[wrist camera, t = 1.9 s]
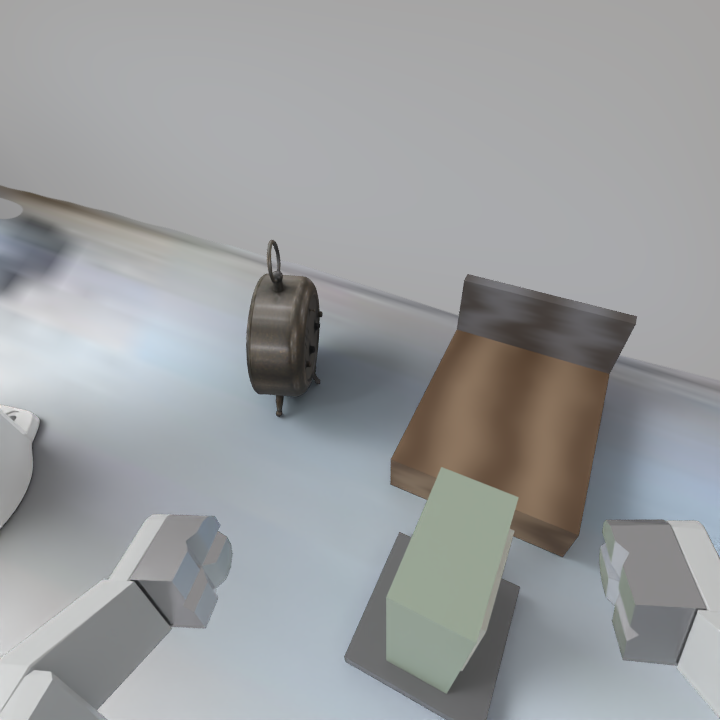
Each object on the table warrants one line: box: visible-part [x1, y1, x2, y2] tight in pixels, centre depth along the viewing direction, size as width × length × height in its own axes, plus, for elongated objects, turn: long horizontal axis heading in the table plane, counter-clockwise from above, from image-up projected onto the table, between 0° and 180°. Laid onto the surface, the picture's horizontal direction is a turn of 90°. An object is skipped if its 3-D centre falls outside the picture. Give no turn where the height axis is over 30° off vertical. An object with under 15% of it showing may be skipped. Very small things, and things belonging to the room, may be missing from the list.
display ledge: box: [391, 274, 637, 557], centre depth 39 cm, size 14×17×10 cm
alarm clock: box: [246, 240, 322, 417], centre depth 42 cm, size 11×5×16 cm, turn 175°
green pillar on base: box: [344, 467, 520, 720], centre depth 27 cm, size 9×9×14 cm
